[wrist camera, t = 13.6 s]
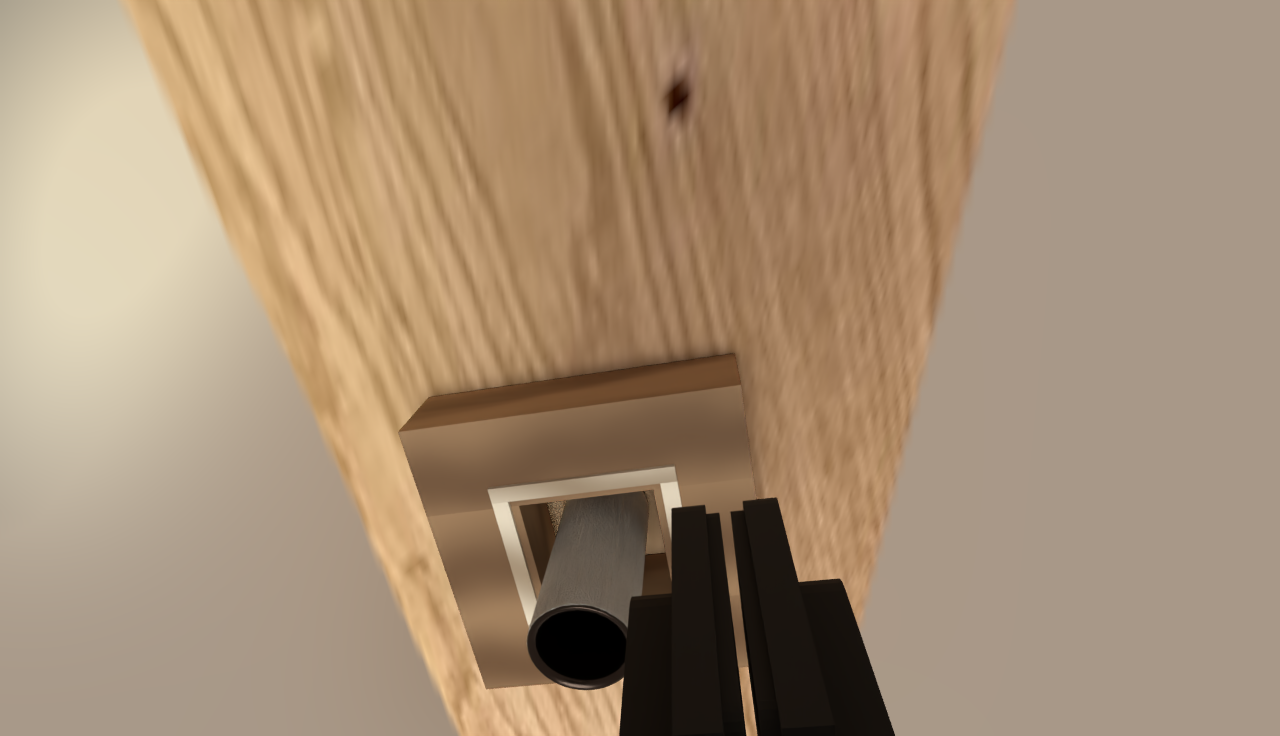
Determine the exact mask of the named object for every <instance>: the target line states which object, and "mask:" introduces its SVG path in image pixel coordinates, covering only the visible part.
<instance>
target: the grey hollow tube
mask: <svg viewBox="0 0 1280 736" xmlns="http://www.w3.org/2000/svg"><path fill="white" fill-rule="evenodd" d="M647 528H648V502H647V498H646V496H645V494H644V492H643V491H638V492H629V493H621V494H613V495H604V496H596V497H588V498H579V499H571V500H567V501H566V504H565V508H564V511H563V514H562V518H561V521H560V525H559V528H558V531H557V535H556V538H555V542H554V545H553V548H552V552H551V555H550V559H549V562H548V565H547V569H546V572H545V576H544V579H543V582H542V586H541V589H540V593H539V596H538V599H537V603H536V606H535V610H534V613H533V616H532V620H531V623H530V627H529V630H528V634H527V641H526V644H527V651H528V654H529V657H530V659H531V661H532V663H533V664H534V666H535V667H536V668H537V669H538V670H539V671H540V672H541V673H542V674H543V675H544V676H545V677H547V678H548V679H550V680H551V681H553V682H555V683H557V684H559V685H562V686H564V687H568V688H572V689H578V690H594V689H600V688H604V687H607V686H610V685H612V684H614V683H616V682H618V681H619V680H621V679H622V678H623V677H624V668H625V655H626V642H627V629H628V616H629V605H630V600H631V597H633V596H642V586H643V575H644V563H645V551H646V539H647Z"/></svg>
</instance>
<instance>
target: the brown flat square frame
mask: <svg viewBox="0 0 1280 736" xmlns="http://www.w3.org/2000/svg"><path fill="white" fill-rule="evenodd" d="M398 434H399V437H400V439H401V442H402V445H403V448H404V451H405V454H406V457H407V460H408V463H409V466H410V469H411V472H412V474H413V477H414V480H415V483H416V486H417V489H418V492H419V495H420V498H421V501H422V504H423V506H424V509H425V512H426V515H427V518H428V521H429V524H430V527H431V530H432V533H433V536H434V539H435V541H436V544H437V547H438V550H439V553H440V556H441V559H442V562H443V565H444V568H445V571H446V574H447V576H448V579H449V582H450V585H451V588H452V591H453V594H454V597H455V600H456V603H457V606H458V609H459V611H460V614H461V617H462V620H463V623H464V626H465V629H466V632H467V635H468V638H469V641H470V644H471V646H472V649H473V652H474V655H475V658H476V661H477V664H478V667H479V670H480V673H481V676H482V679H483V681H484V684H485V687H486V689H494V688H506V687H518V686H530V685H541V684H553V683H555V682H553V681H551V680H550V679H548V678H547V677H545V676H544V675H543V674H542V673H541V672H540V671H539V670H538V669H537V668H536V667H535V666H534V664H533V663H532V661H531V659H530V657H529V654H528V651H527V644H526V641H527V634H528V630H529V627H530V623H531V620H532V616H533V613H534V610H535V606H536V603H537V599H538V596H539V593H540V589H541V586H542V582H543V579H544V576H545V572H546V569H547V565H548V562H549V559H550V555H551V552H552V548H553V545H554V542H555V538H556V537H555V533H554V530H553V526H552V522H551V518H550V515H549V511H548V507H547V503H546V502H554V501H563V500H571V499H579V498H588V497H596V496H604V495H613V494H621V493H629V492H638V491H646V490H654V495H655V501H656V506H657V511H658V516H659V521H660V526H661V531H662V536H663V541H664V546H665V551H666V553H662V554H653V555H645V563H644V575H643V586H642V596H645V595H656V594H668V593H672V569H671V509H672V508H676V507H686V506H696V505H705V507H706V514H709V513H719V514H720V521H721V530H722V538H723V546H724V554H725V562H726V570H727V578H728V586H729V594H730V602H731V611H732V619H733V627H734V635H735V643H736V651H737V660H738V668H740V667H748V659H747V652H746V644H745V635H744V627H743V618H742V609H741V601H740V592H739V583H738V575H737V566H736V557H735V549H734V540H733V531H732V523H731V514H730V511H740V510H743V501H747V500H756V492H755V485H754V477H753V470H752V463H751V455H750V448H749V440H748V433H747V425H746V418H745V410H744V403H743V396H742V388H741V382H740V377H739V372H738V367H737V362H736V357H735V353H734V354H727V355H720V356H713V357H706V358H699V359H692V360H685V361H678V362H671V363H664V364H657V365H650V366H643V367H636V368H629V369H622V370H615V371H608V372H601V373H594V374H587V375H581V376H574V377H567V378H560V379H553V380H546V381H539V382H532V383H525V384H518V385H511V386H504V387H497V388H490V389H483V390H476V391H469V392H462V393H455V394H448V395H441V396H434V397H429V398H428V399H427V400H426V401H425V402H424V403H423V404H422V406H421V407H420V408H419V409H418V410H417V411H416V412H415V414H414V415H413V416H412V417H411V418H410V419H409V420H408V421H407V423H406V424H405V425H404V426H403V427H402V428H401V429H400V430H399V432H398Z"/></svg>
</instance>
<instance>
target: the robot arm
mask: <svg viewBox="0 0 1280 736" xmlns="http://www.w3.org/2000/svg"><path fill="white" fill-rule="evenodd" d="M730 514H731V523H732V531H733V540H734V549H735V557H736V566H737V575H738V583H739V592H740V601H741V609H742V618H743V627H744V635H745V644H746V652H747V659H748V667H749V675H750V682H751V690H752V697H753V705H754V712H755V720H756V727H757V735H758V736H895V734H894V731H893V728H892V725H891V722H890V719H889V716H888V713H887V710H886V707H885V704H884V702H883V699H882V696H881V693H880V690H879V687H878V684H877V681H876V678H875V675H874V672H873V669H872V666H871V664H870V660H869V657H868V655H867V652H866V649H865V646H864V643H863V640H862V637H861V634H860V631H859V628H858V625H857V622H856V619H855V616H854V613H853V611H852V608H851V605H850V602H849V599H848V596H847V593H846V590H845V588H844V585H843V583H842V581H841V580H840V579H829V580H818V581H806V582H798V578H797V574H796V571H795V567H794V563H793V559H792V555H791V551H790V547H789V543H788V539H787V535H786V531H785V527H784V523H783V519H782V515H781V511H780V507H779V504H778V500H777V498H767V499H757V500H747V501H743V510H740V511H730ZM671 569H672V593H668V594H656V595H645V596H633V597H631V600H630V605H629V616H628V629H627V642H626V655H625V668H624V681H623V694H622V707H621V720H620V733H619V736H746V729H745V721H744V712H743V703H742V695H741V686H740V677H739V669H738V660H737V651H736V643H735V635H734V627H733V619H732V611H731V602H730V594H729V586H728V578H727V570H726V562H725V554H724V546H723V538H722V530H721V521H720V514H719V513H709V514H706V507H705V505H696V506H686V507H676V508H672V509H671Z"/></svg>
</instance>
